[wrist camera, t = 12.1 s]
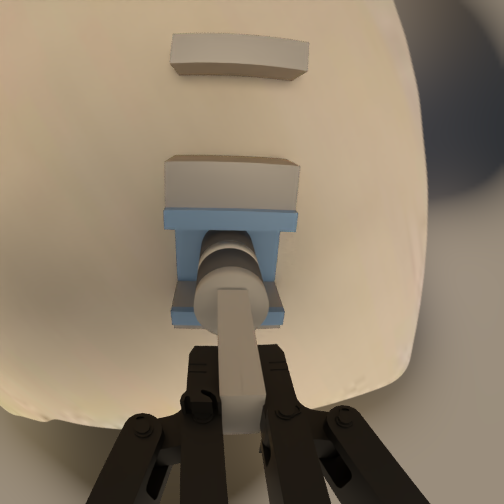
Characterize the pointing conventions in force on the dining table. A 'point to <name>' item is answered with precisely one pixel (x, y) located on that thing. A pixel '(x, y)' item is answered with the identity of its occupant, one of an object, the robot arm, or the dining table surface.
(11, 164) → the dining table surface
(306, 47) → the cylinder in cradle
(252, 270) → the plug
